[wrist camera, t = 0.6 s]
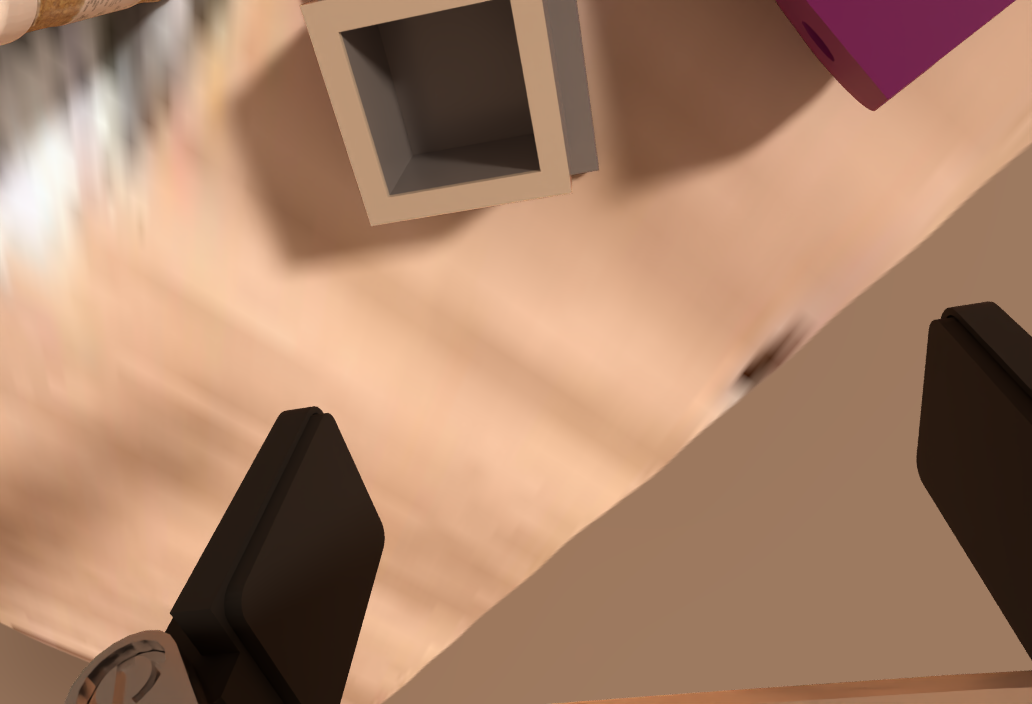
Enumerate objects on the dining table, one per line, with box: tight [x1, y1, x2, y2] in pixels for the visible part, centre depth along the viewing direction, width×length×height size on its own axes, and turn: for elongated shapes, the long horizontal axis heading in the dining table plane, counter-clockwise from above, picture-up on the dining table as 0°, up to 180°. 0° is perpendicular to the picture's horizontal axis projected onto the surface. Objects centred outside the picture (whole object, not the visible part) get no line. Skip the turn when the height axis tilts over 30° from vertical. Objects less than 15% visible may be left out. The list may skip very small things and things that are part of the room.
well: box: [300, 0, 599, 226], centre depth 33 cm, size 12×12×7 cm
